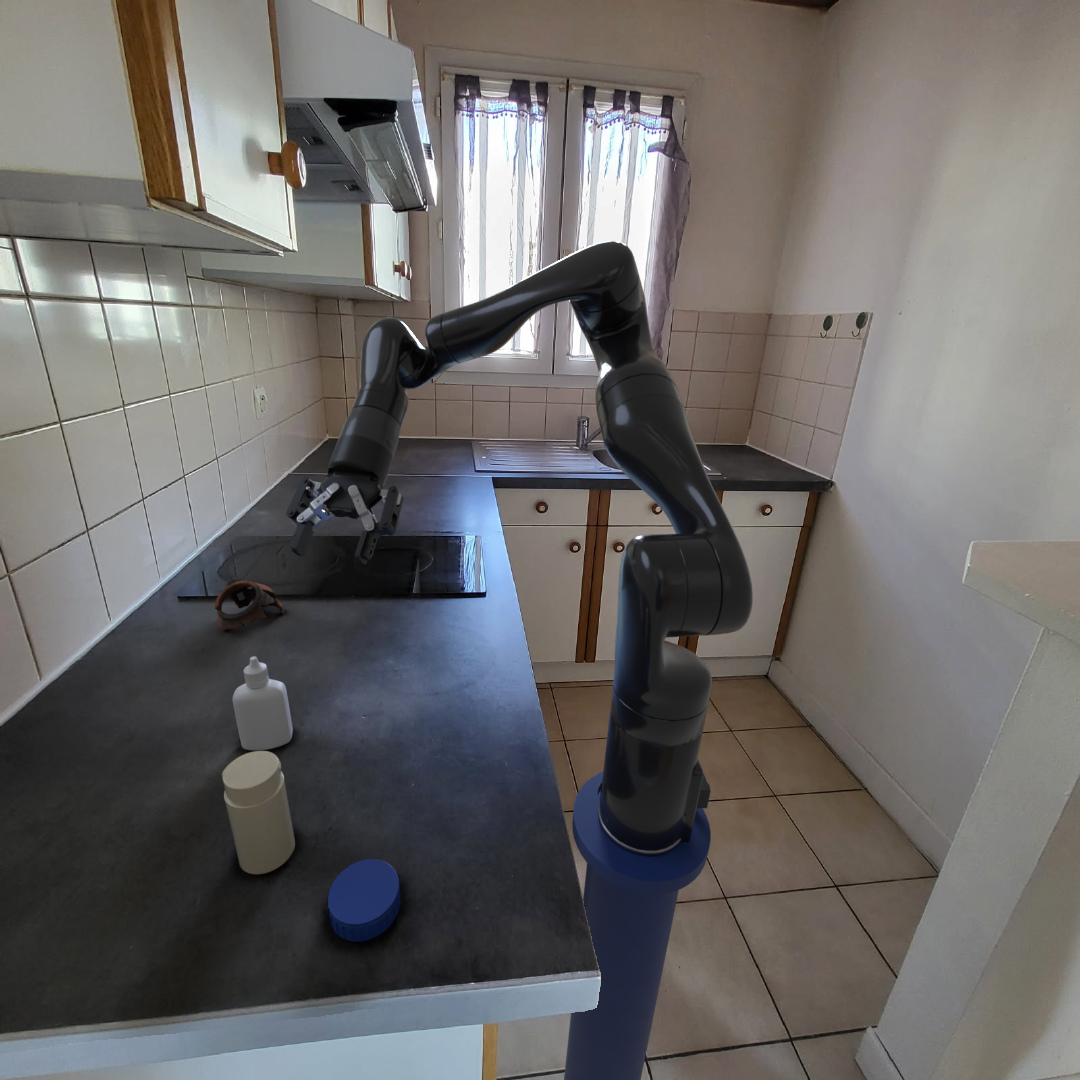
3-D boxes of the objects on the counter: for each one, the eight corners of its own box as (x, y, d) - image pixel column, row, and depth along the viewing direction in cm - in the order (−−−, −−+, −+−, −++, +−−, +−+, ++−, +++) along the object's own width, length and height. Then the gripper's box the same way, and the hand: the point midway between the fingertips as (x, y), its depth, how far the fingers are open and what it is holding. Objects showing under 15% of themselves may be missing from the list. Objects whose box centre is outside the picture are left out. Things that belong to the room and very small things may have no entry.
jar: (300, 826, 57) (287, 746, 53) (288, 871, 53) (272, 787, 49) (248, 831, 56) (231, 751, 52) (231, 878, 52) (210, 793, 48)
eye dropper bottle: (260, 724, 71) (245, 643, 66) (299, 733, 70) (287, 651, 65) (235, 748, 67) (217, 664, 62) (276, 758, 66) (261, 673, 61)
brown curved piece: (298, 619, 95) (277, 593, 89) (249, 658, 91) (223, 634, 85) (263, 582, 101) (240, 555, 94) (215, 617, 97) (188, 591, 90)
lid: (316, 908, 50) (314, 890, 49) (376, 863, 54) (375, 846, 53) (353, 959, 46) (351, 940, 45) (414, 906, 50) (413, 888, 49)
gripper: (423, 467, 78) (391, 575, 72) (331, 458, 81) (292, 562, 75) (405, 437, 71) (368, 553, 65) (305, 428, 74) (260, 539, 68)
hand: (328, 557), depth 70 cm, fingers open, 8 cm apart
